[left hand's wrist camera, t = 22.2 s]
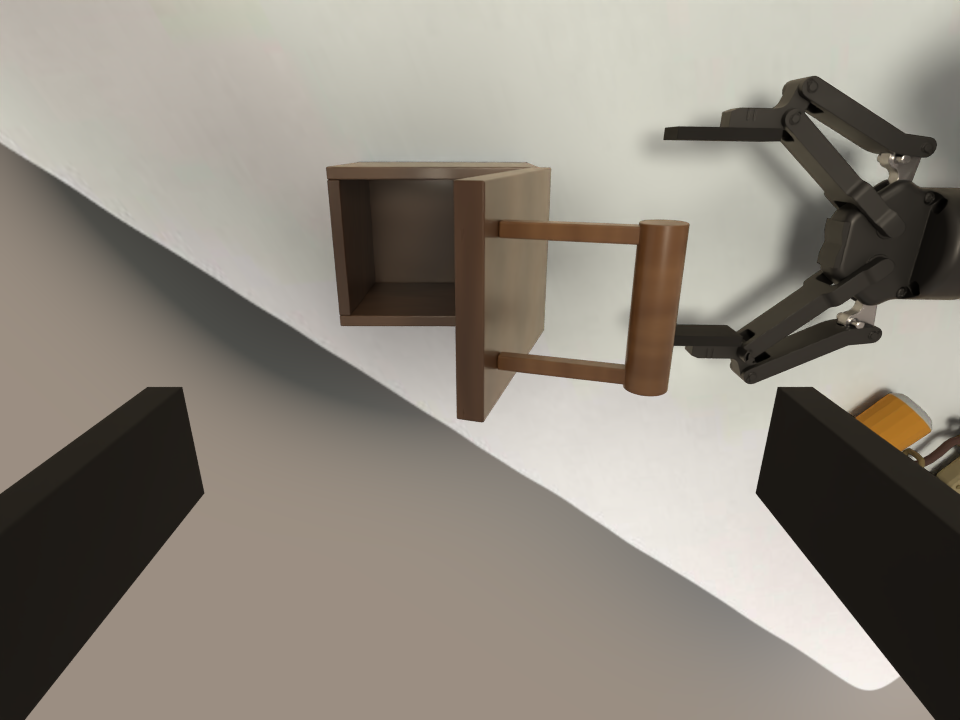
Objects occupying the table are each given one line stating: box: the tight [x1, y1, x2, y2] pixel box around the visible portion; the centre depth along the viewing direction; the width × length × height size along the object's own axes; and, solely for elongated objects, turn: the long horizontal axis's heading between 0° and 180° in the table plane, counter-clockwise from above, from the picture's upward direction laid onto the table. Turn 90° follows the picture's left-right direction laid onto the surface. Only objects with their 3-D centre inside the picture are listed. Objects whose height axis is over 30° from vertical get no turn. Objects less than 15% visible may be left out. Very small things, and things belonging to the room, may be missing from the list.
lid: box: [453, 167, 689, 422], centre depth 27 cm, size 14×10×9 cm
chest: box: [326, 162, 537, 326], centre depth 40 cm, size 13×10×10 cm
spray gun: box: [856, 393, 960, 494], centre depth 51 cm, size 4×17×15 cm
